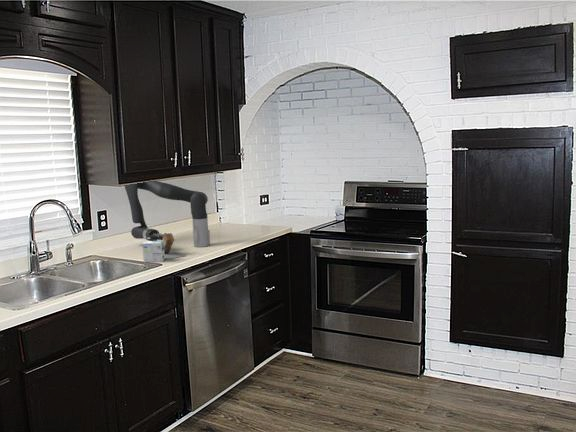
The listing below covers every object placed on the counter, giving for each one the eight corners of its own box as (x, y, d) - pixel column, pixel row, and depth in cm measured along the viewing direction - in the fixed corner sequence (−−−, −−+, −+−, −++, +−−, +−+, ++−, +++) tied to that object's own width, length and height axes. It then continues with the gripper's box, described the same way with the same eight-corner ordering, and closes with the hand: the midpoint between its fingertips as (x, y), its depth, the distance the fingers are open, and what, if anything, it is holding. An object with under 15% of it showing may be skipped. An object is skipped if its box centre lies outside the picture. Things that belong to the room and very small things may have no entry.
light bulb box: (165, 259, 316) (163, 240, 314) (162, 261, 309) (161, 242, 308) (145, 259, 316) (144, 240, 314) (143, 262, 309) (141, 243, 307)
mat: (175, 252, 332) (175, 252, 332) (186, 256, 321) (186, 255, 321) (156, 255, 325) (156, 255, 325) (167, 259, 314) (167, 259, 314)
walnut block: (165, 247, 333) (171, 233, 324) (168, 253, 330) (174, 238, 322) (158, 248, 330) (164, 234, 322) (161, 254, 328) (167, 240, 319)
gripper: (140, 230, 337) (152, 233, 324) (160, 227, 345) (173, 230, 332) (141, 242, 338) (153, 246, 325) (161, 239, 346) (174, 243, 333)
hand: (163, 238), depth 328 cm, fingers closed
